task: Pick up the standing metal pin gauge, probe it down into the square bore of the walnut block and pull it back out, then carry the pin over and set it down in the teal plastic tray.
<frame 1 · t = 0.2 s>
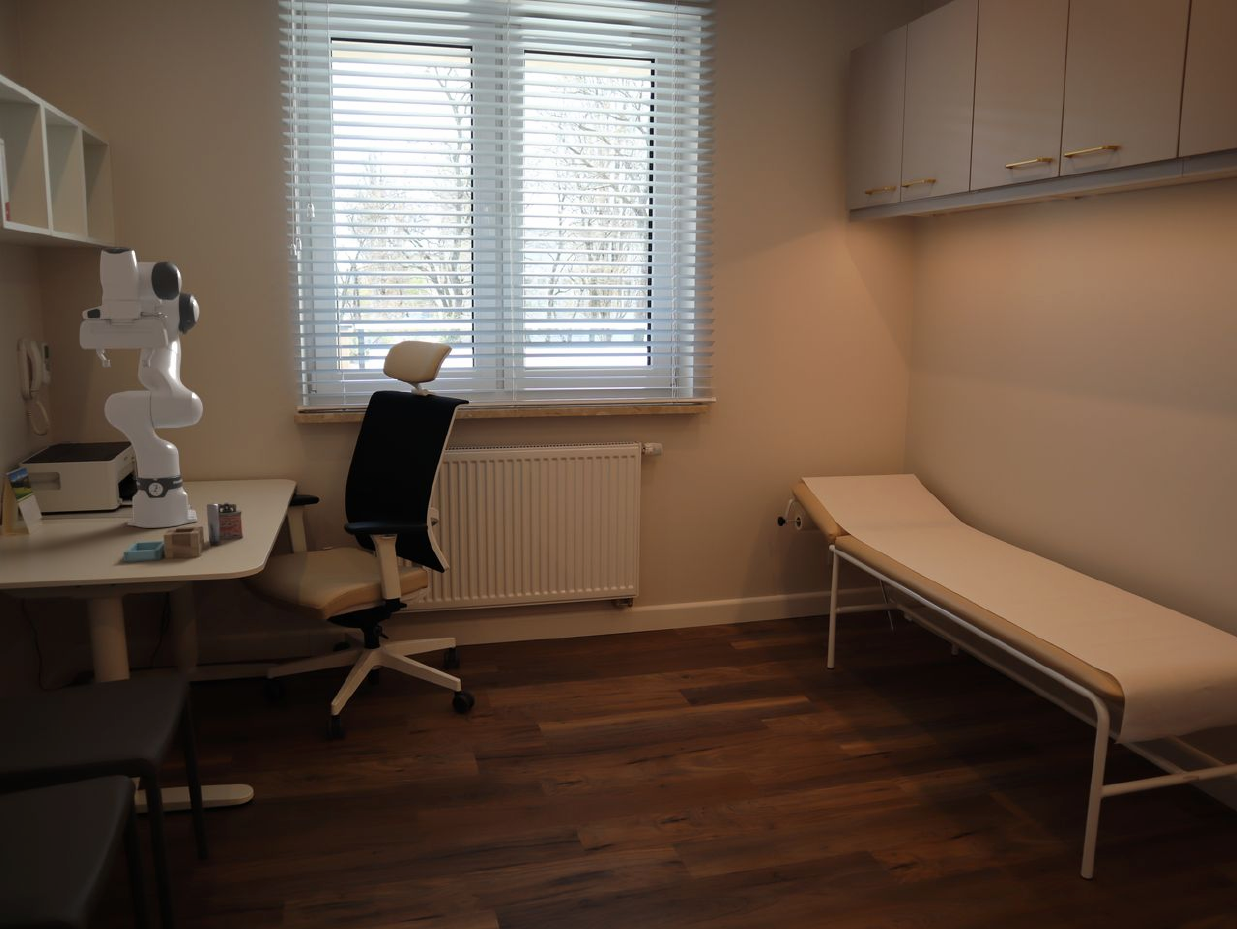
hand: (126, 366, 253), 47 cm above the table, fingers open, 8 cm apart
pin gauge: (215, 545, 263), on the table
tray: (146, 556, 251), on the table
lighter: (227, 539, 270), on the table
bored block: (185, 553, 253), on the table
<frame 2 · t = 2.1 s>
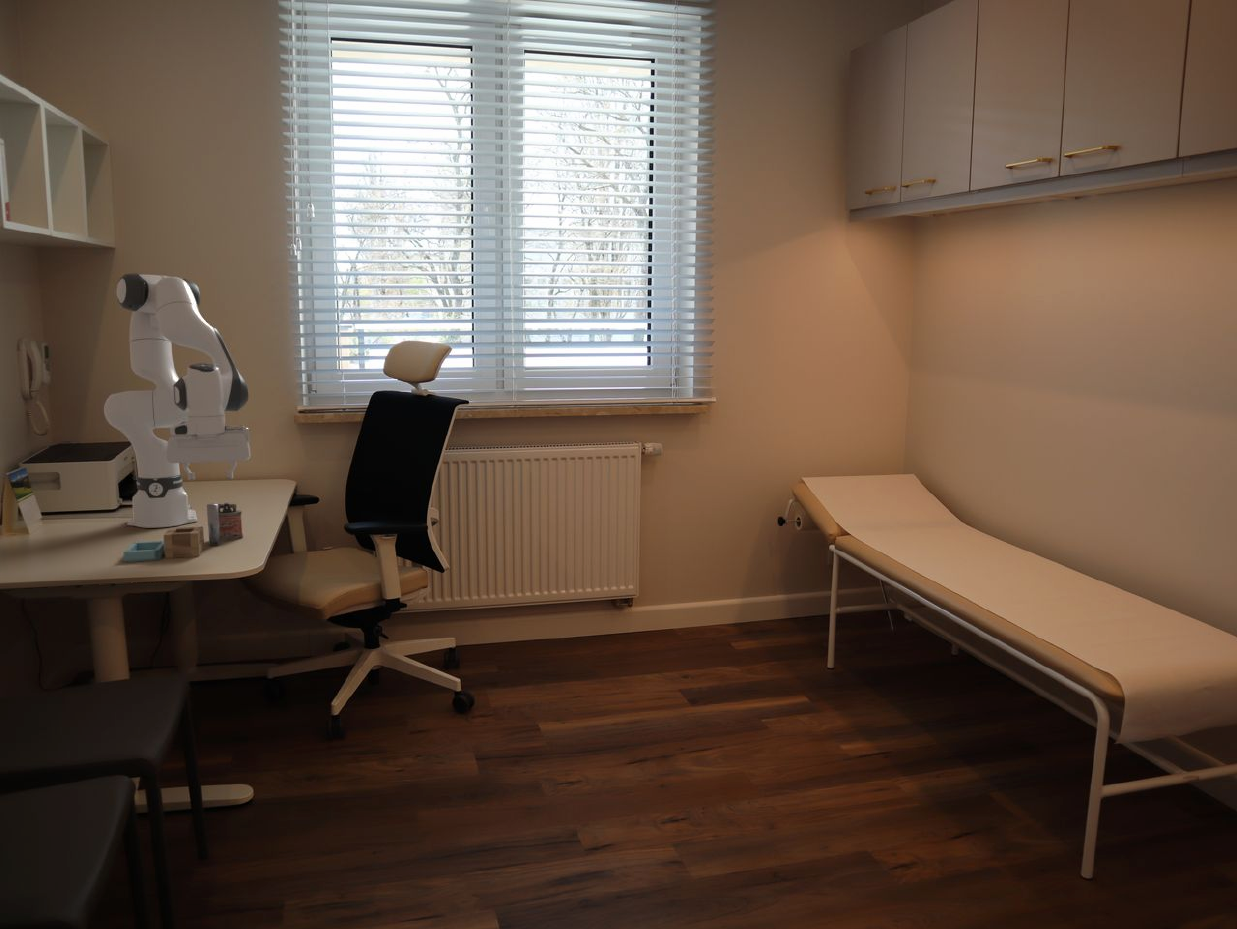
hand: (210, 478, 260), 18 cm above the table, fingers open, 8 cm apart
nothing on the table moved.
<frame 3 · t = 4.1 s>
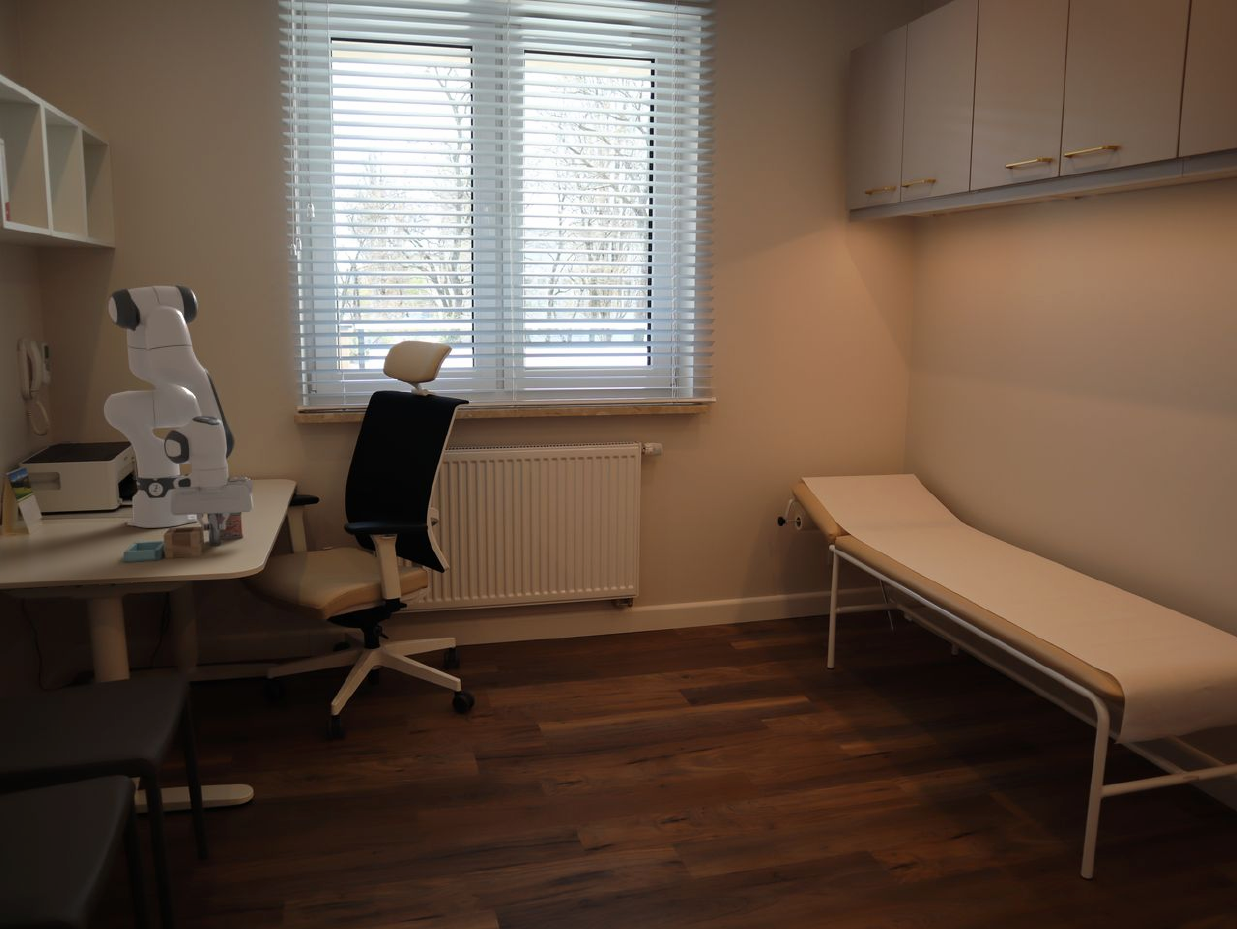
hand: (214, 529, 262), 4 cm above the table, fingers closed on pin gauge, 3 cm apart
pin gauge: (215, 545, 263), on the table, touching gripper
everything else where it was.
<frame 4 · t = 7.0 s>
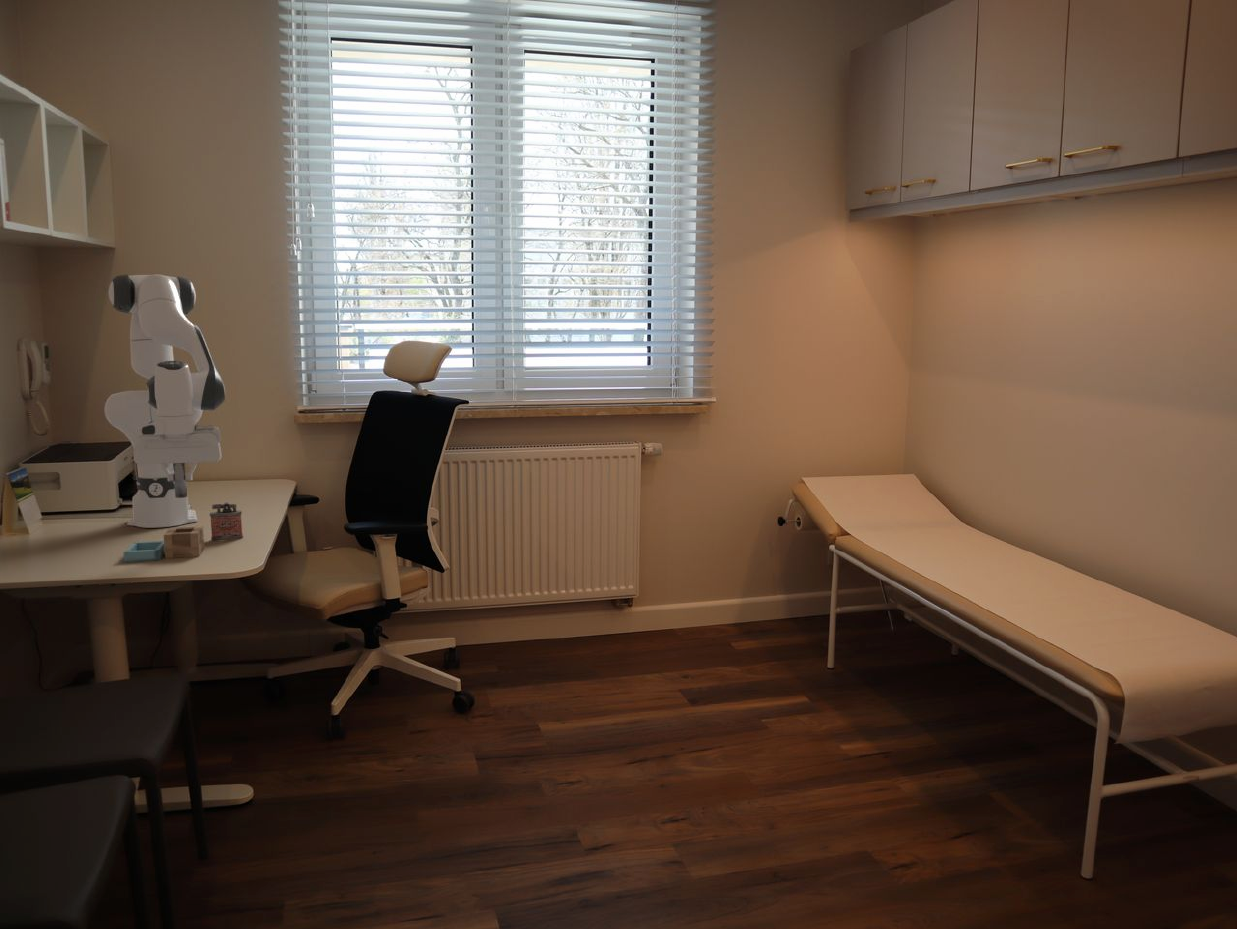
hand: (180, 480, 251), 19 cm above the table, fingers closed on pin gauge, 3 cm apart
pin gauge: (181, 496, 251), point 15 cm above the table, touching gripper
everything else where it was.
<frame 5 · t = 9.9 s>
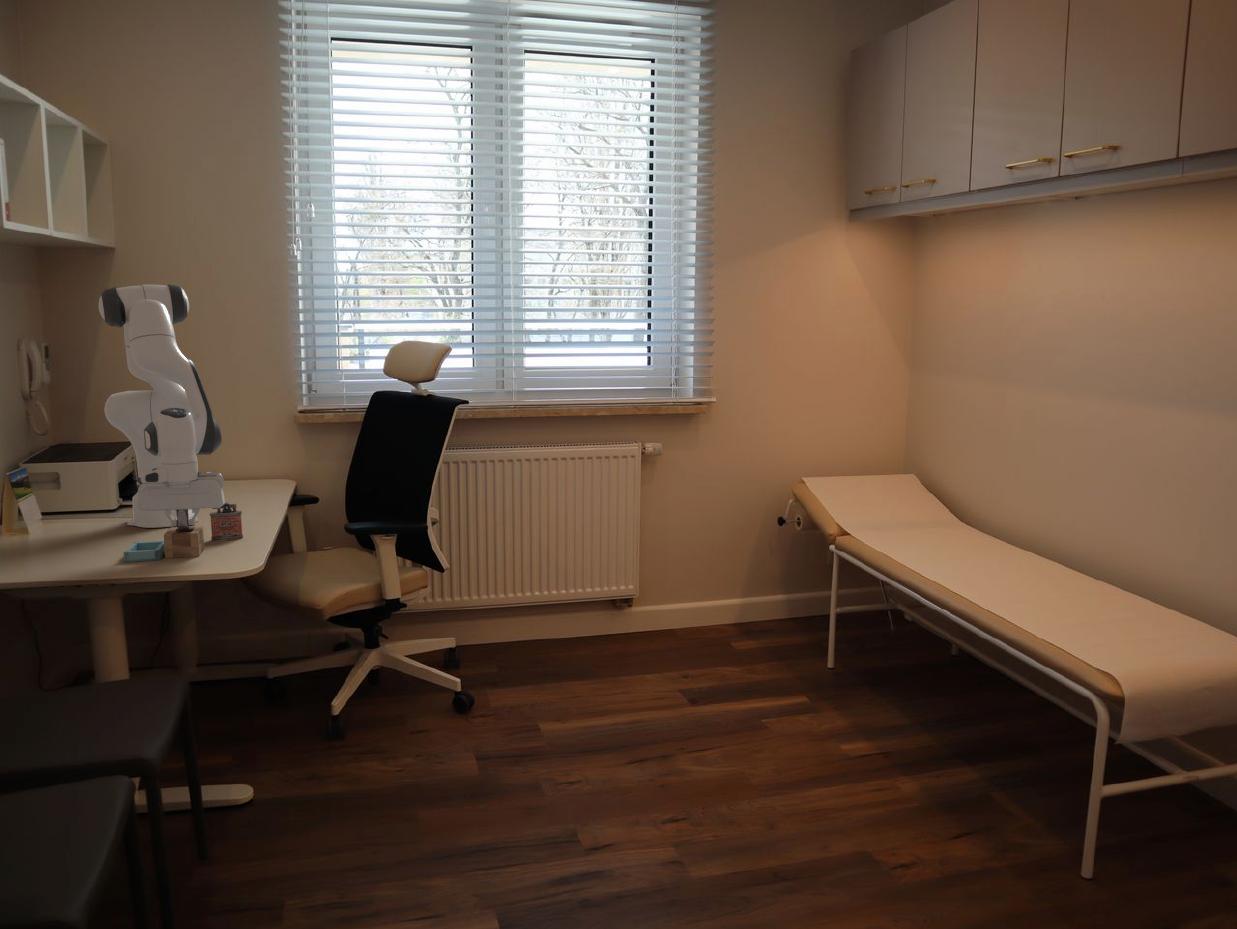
hand: (183, 526, 252), 7 cm above the table, fingers closed on pin gauge, 3 cm apart
pin gauge: (184, 542, 253), point 3 cm above the table, touching gripper
everything else where it was.
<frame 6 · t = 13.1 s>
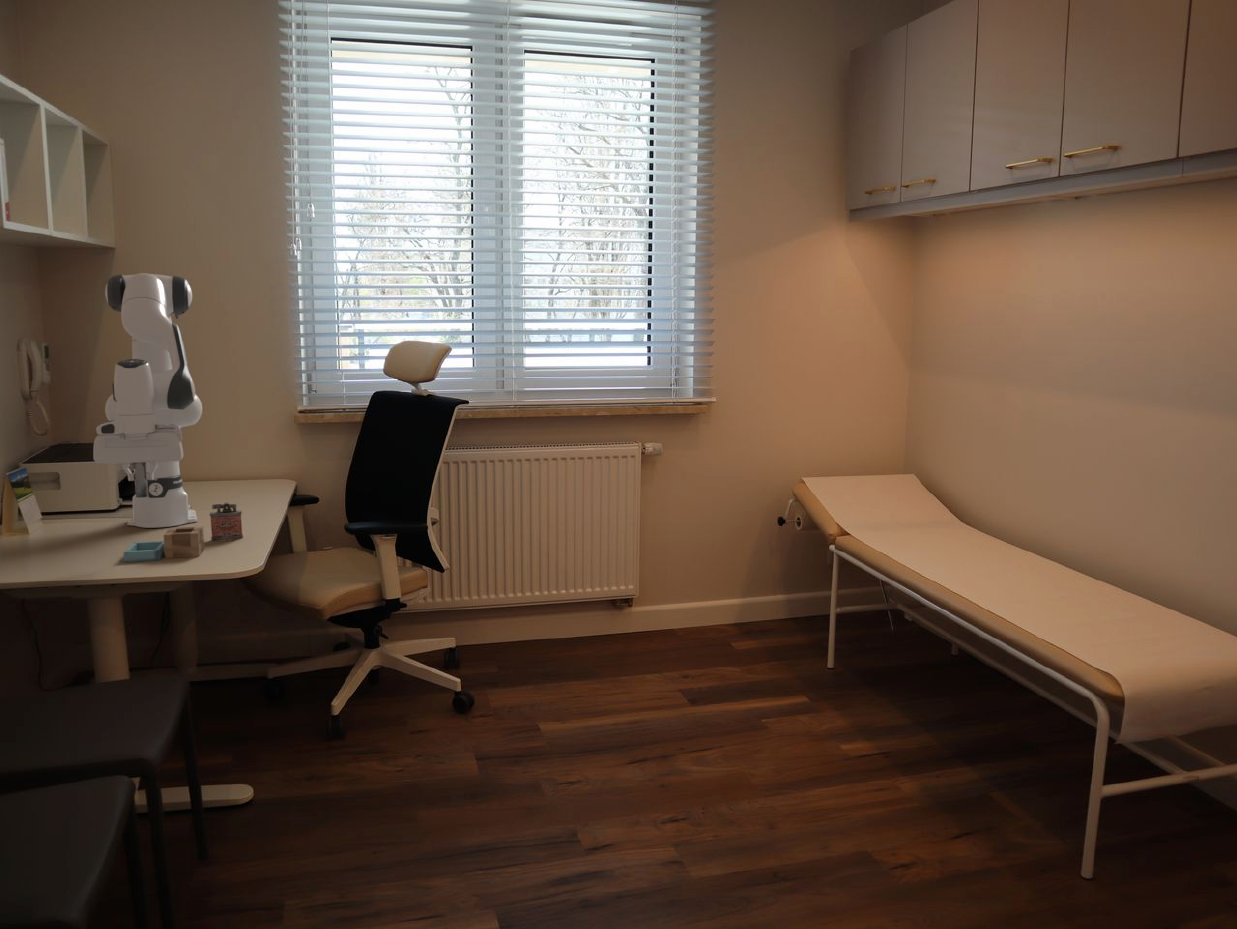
hand: (141, 480, 248), 20 cm above the table, fingers closed on pin gauge, 3 cm apart
pin gauge: (142, 496, 248), point 15 cm above the table, touching gripper
everything else where it was.
when the fingers open (6 cm above the table, at t = 15.7 s): pin gauge stays where it is, resting on tray.
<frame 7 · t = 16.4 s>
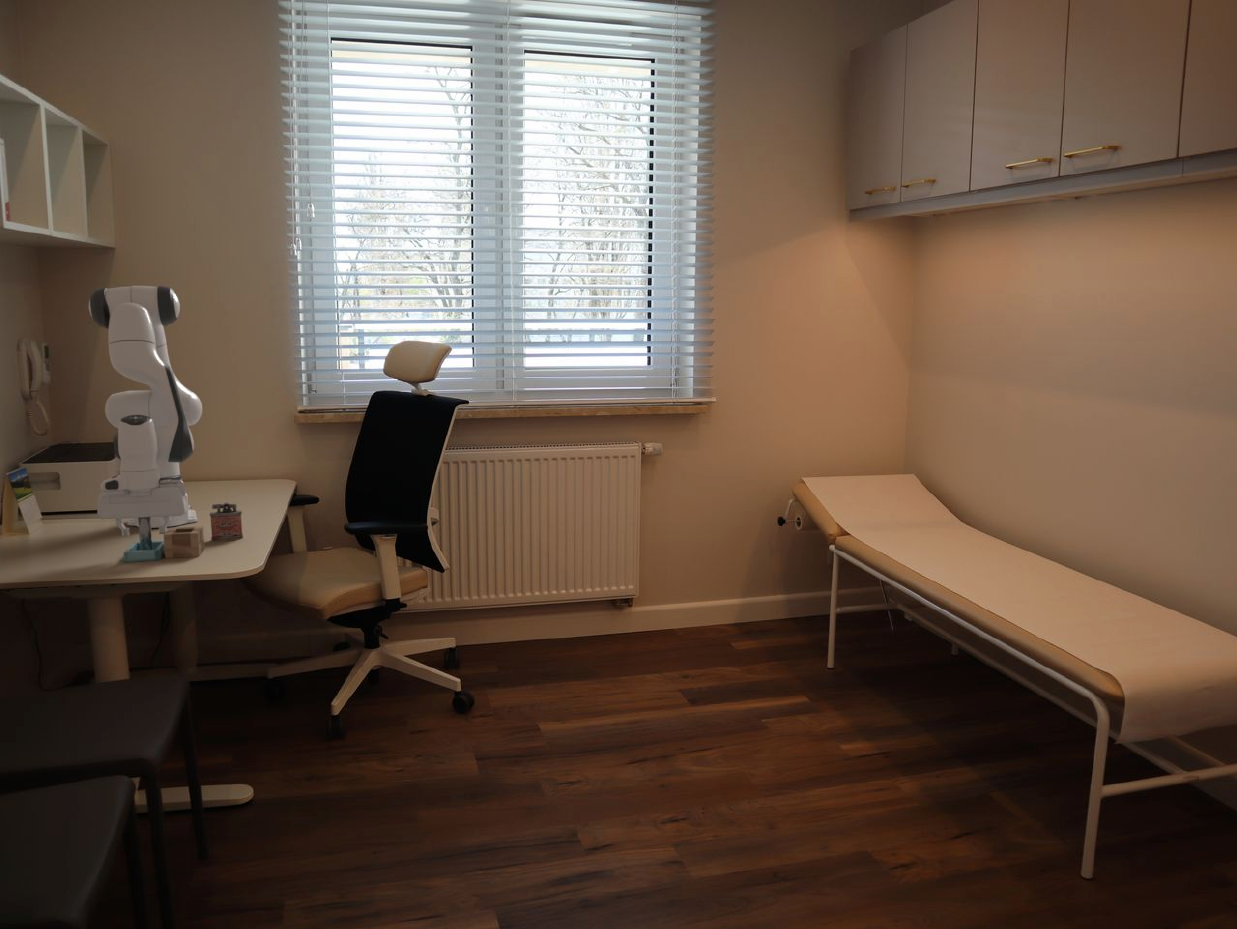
hand: (144, 534, 250), 6 cm above the table, fingers open, 7 cm apart
pin gauge: (146, 554, 251), point 1 cm above the table, touching tray
bored block: (185, 553, 253), on the table, touching gripper
everything else where it was.
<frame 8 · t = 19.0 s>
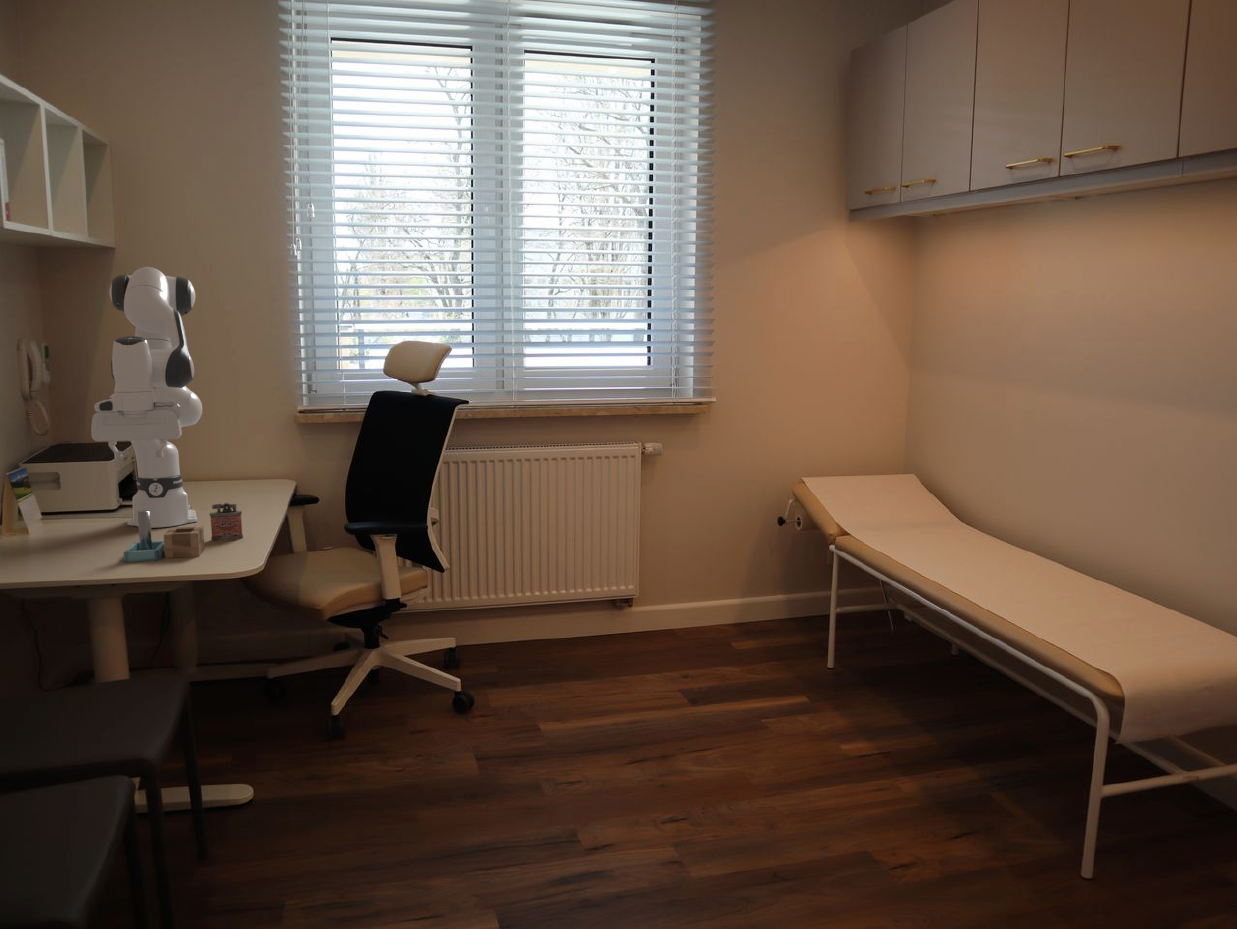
hand: (139, 458, 247), 25 cm above the table, fingers open, 8 cm apart
bored block: (185, 553, 254), on the table
everything else where it was.
at the end: pin gauge inside the target area on the tray (0.1 cm from its centre), point 0.5 cm above the tray's base; the gripper is holding nothing; bored block moved 0.1 cm from its start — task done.
